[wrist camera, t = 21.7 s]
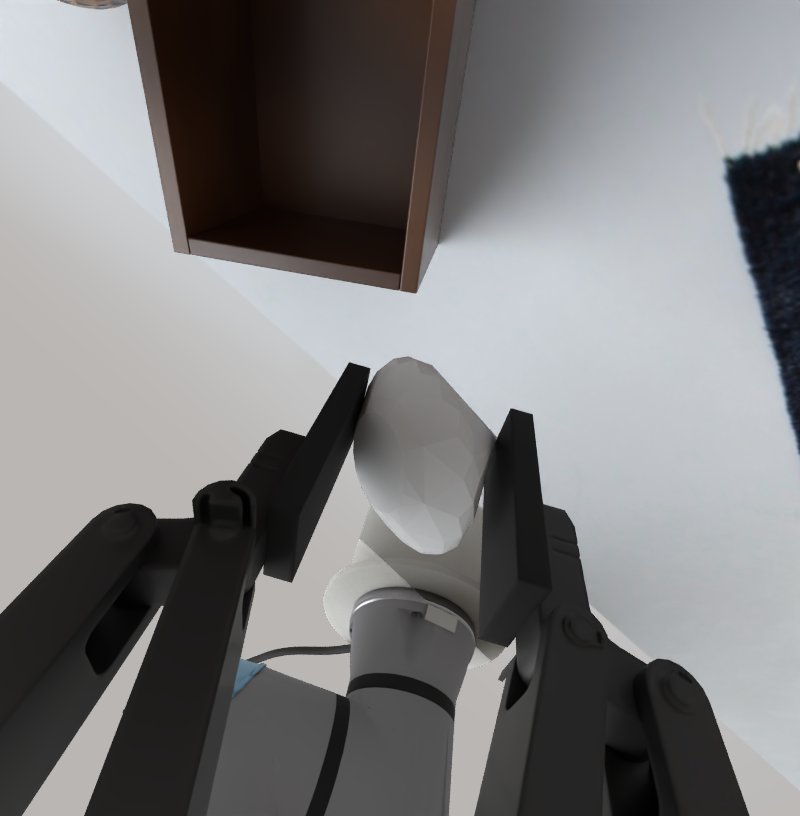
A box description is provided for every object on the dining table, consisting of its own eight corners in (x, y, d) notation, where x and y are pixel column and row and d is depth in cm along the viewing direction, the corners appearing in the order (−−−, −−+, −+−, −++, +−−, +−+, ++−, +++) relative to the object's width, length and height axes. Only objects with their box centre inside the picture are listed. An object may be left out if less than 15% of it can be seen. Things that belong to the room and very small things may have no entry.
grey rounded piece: (532, 560, 15) (412, 613, 12) (430, 458, 19) (325, 481, 16) (602, 403, 12) (466, 427, 9) (465, 325, 16) (345, 327, 14)
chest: (437, 245, 26) (416, 294, 19) (257, 216, 27) (174, 252, 20) (494, -115, 18) (493, -266, 11) (231, -139, 19) (71, -292, 12)
